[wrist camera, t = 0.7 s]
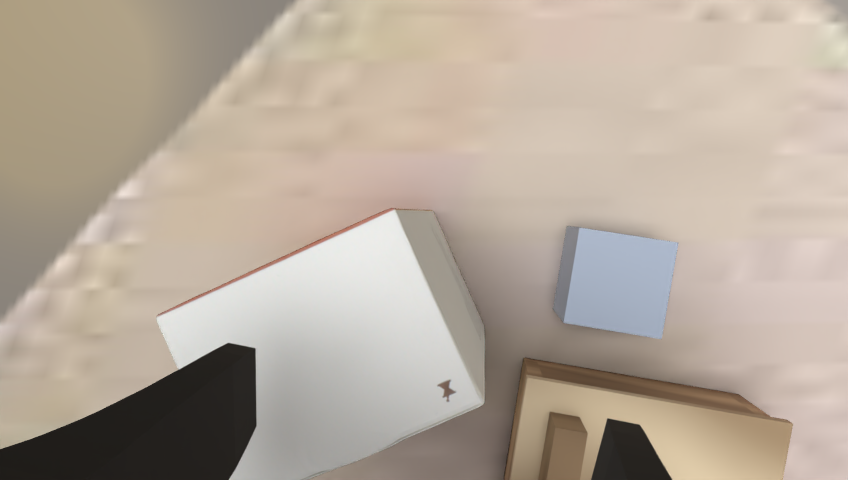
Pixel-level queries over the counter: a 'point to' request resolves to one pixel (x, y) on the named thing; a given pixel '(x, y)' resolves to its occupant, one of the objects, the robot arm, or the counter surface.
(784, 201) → the counter surface
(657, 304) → the block
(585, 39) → the counter surface
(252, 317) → the small box
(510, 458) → the wooden box
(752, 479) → the lid
